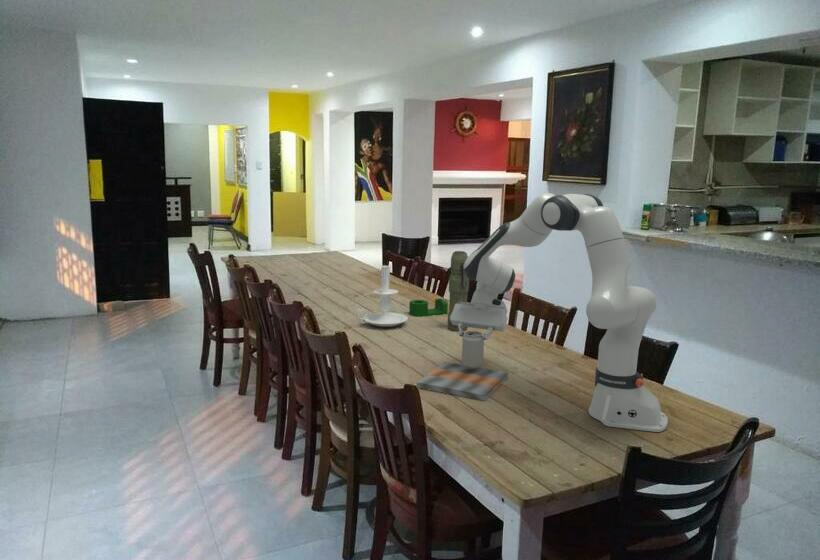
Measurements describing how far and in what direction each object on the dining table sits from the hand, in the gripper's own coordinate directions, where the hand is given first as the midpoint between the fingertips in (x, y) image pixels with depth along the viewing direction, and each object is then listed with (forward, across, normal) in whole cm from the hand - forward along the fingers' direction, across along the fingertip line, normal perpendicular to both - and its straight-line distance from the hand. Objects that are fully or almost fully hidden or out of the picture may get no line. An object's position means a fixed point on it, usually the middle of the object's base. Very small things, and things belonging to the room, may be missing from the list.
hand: (472, 337), depth 216 cm
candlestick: (-21, -60, +41) cm, 76 cm away
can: (+7, 0, +8) cm, 11 cm away
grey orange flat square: (+15, 0, +5) cm, 16 cm away
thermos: (-28, -27, +49) cm, 63 cm away
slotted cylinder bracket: (-41, -51, +62) cm, 90 cm away
